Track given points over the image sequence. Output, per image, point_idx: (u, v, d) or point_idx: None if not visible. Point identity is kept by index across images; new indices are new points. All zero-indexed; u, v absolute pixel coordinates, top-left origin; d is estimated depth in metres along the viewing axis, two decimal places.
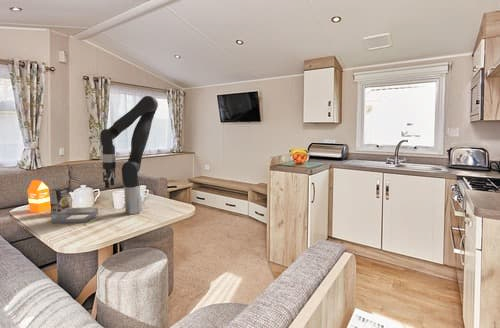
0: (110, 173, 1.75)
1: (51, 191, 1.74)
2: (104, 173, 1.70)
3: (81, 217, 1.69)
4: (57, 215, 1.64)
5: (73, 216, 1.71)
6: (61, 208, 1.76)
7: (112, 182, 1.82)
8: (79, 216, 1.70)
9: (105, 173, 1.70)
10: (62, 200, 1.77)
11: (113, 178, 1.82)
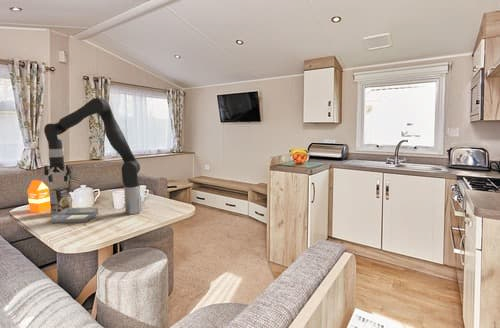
0: None
1: (51, 191, 1.74)
2: (68, 166, 1.77)
3: (81, 217, 1.69)
4: (57, 215, 1.64)
5: (73, 216, 1.71)
6: (61, 208, 1.76)
7: (51, 178, 1.77)
8: (79, 216, 1.70)
9: (68, 166, 1.77)
10: (62, 200, 1.77)
11: None
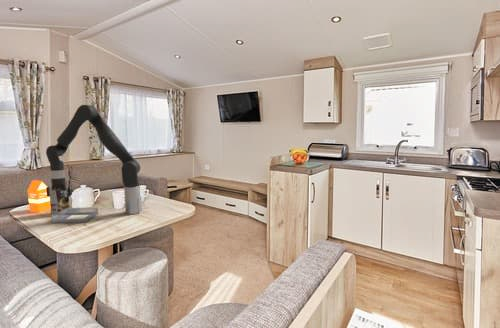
0: None
1: (51, 191, 1.74)
2: (70, 187, 1.78)
3: (81, 217, 1.69)
4: (57, 215, 1.64)
5: (73, 216, 1.71)
6: (61, 208, 1.76)
7: None
8: (79, 216, 1.70)
9: (70, 187, 1.79)
10: (62, 200, 1.77)
11: None
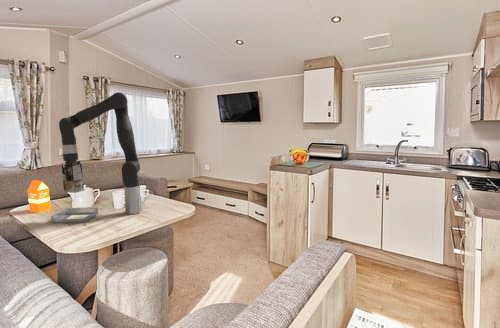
0: None
1: (75, 166, 1.64)
2: None
3: (81, 217, 1.69)
4: (57, 215, 1.64)
5: (73, 216, 1.71)
6: None
7: None
8: (79, 216, 1.70)
9: None
10: None
11: None
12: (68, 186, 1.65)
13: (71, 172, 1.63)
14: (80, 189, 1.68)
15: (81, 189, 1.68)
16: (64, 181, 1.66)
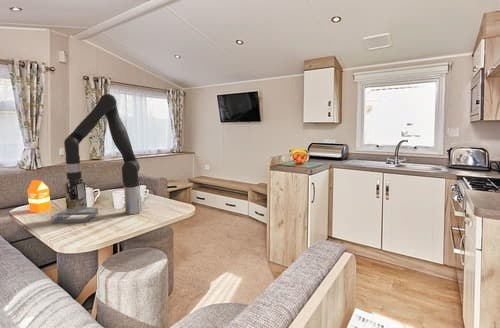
0: None
1: (79, 185, 1.65)
2: None
3: (81, 217, 1.69)
4: (57, 215, 1.64)
5: (73, 216, 1.71)
6: None
7: None
8: (79, 216, 1.70)
9: None
10: None
11: None
12: (71, 204, 1.65)
13: (75, 191, 1.64)
14: (84, 207, 1.68)
15: (84, 207, 1.69)
16: (67, 200, 1.66)
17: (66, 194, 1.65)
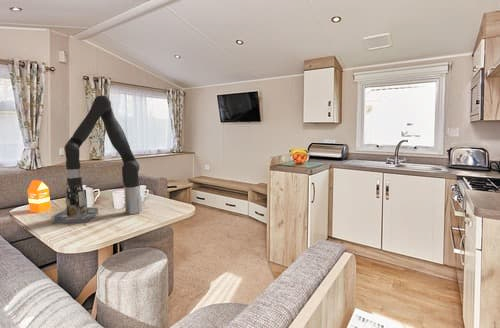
0: None
1: (80, 193, 1.66)
2: None
3: None
4: (57, 215, 1.64)
5: None
6: None
7: None
8: None
9: None
10: None
11: None
12: (72, 212, 1.66)
13: (76, 198, 1.65)
14: (85, 214, 1.69)
15: (85, 214, 1.70)
16: (68, 207, 1.66)
17: (67, 202, 1.66)
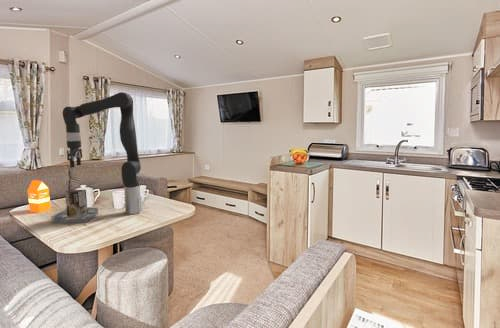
0: None
1: (80, 193, 1.66)
2: None
3: None
4: (57, 215, 1.64)
5: None
6: None
7: None
8: None
9: None
10: None
11: None
12: (72, 212, 1.66)
13: (76, 198, 1.65)
14: (85, 214, 1.69)
15: (85, 214, 1.70)
16: (68, 207, 1.66)
17: (67, 202, 1.66)
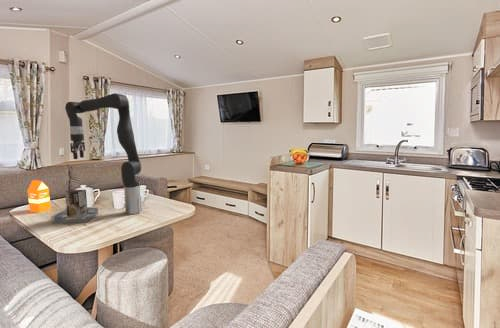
0: None
1: (80, 193, 1.66)
2: None
3: None
4: (57, 215, 1.64)
5: None
6: None
7: None
8: None
9: None
10: None
11: None
12: (72, 212, 1.66)
13: (76, 198, 1.65)
14: (85, 214, 1.69)
15: (85, 214, 1.70)
16: (68, 207, 1.66)
17: (67, 202, 1.66)
